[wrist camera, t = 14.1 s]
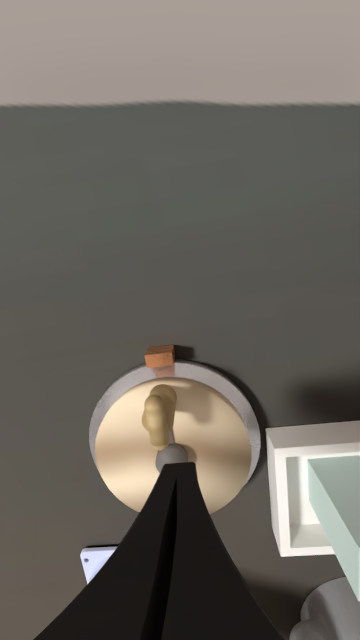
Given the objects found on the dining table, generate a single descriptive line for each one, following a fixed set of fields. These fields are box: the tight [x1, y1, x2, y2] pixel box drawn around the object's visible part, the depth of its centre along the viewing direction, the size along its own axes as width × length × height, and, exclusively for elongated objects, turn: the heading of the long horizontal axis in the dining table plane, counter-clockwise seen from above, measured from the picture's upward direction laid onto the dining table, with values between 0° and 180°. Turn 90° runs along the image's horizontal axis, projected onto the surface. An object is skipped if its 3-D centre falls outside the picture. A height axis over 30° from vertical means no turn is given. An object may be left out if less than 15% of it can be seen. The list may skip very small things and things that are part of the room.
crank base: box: [89, 345, 260, 489], centre depth 22 cm, size 15×14×2 cm
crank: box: [95, 377, 252, 514], centre depth 19 cm, size 13×12×5 cm
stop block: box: [307, 455, 360, 601], centre depth 19 cm, size 4×4×7 cm
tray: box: [265, 421, 360, 557], centre depth 22 cm, size 10×10×2 cm
